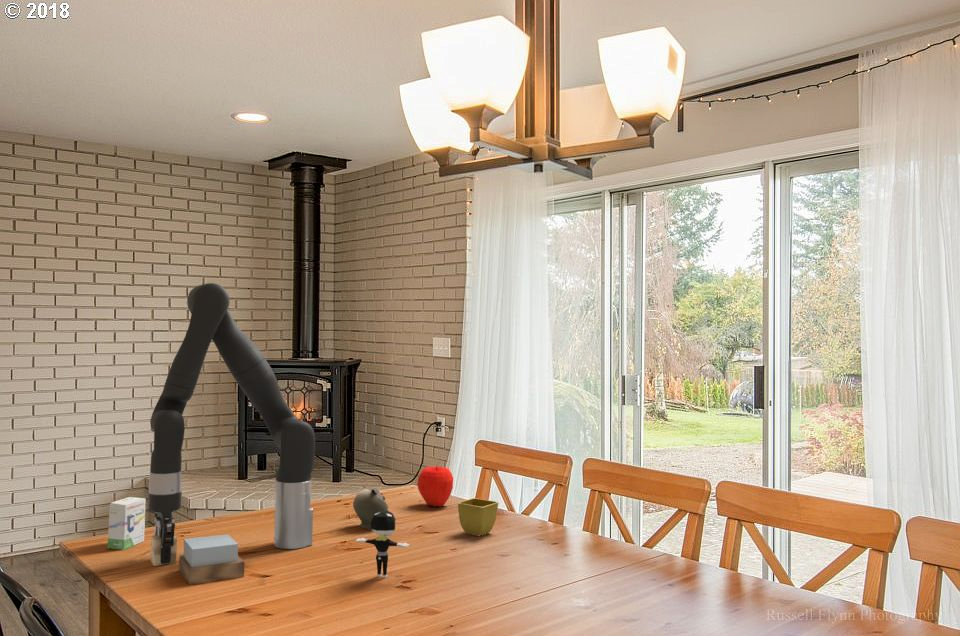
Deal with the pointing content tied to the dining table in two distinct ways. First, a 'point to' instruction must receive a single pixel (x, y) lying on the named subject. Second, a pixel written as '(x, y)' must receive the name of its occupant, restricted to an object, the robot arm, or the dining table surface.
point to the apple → (435, 485)
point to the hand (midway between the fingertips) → (163, 559)
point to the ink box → (126, 523)
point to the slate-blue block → (210, 550)
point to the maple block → (157, 550)
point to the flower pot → (477, 515)
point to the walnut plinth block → (211, 571)
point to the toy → (382, 539)
